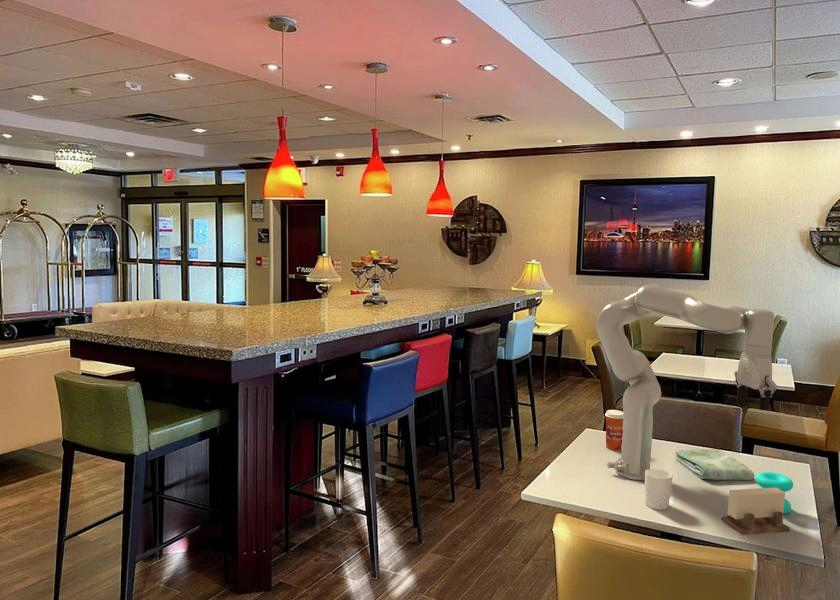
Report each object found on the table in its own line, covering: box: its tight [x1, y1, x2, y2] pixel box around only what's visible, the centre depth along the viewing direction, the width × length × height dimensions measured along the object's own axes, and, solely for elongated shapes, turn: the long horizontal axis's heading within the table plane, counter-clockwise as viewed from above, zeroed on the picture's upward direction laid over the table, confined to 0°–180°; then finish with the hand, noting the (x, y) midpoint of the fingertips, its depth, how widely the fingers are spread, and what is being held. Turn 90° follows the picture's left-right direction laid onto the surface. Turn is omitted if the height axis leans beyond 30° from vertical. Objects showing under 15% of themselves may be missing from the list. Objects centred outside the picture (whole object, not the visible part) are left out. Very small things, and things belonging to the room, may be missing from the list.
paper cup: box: [604, 409, 623, 451], centre depth 241 cm, size 8×8×14 cm
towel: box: [675, 448, 755, 481], centre depth 221 cm, size 18×21×5 cm
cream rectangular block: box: [727, 487, 786, 519], centre depth 179 cm, size 15×4×7 cm, turn 100°
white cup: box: [644, 468, 674, 511], centre depth 191 cm, size 8×8×10 cm
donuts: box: [754, 471, 794, 515], centre depth 191 cm, size 10×10×10 cm
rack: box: [720, 511, 791, 535], centre depth 180 cm, size 15×9×5 cm, turn 100°
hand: (752, 405), depth 194 cm, fingers open, 9 cm apart
